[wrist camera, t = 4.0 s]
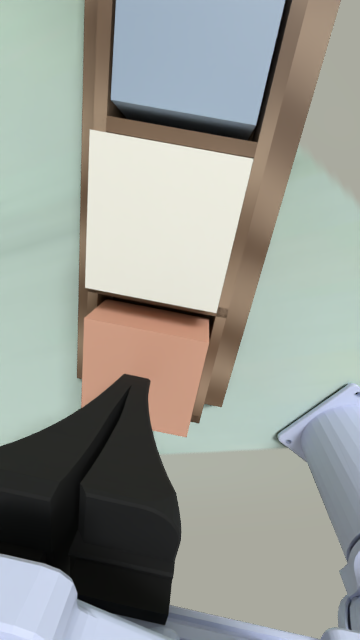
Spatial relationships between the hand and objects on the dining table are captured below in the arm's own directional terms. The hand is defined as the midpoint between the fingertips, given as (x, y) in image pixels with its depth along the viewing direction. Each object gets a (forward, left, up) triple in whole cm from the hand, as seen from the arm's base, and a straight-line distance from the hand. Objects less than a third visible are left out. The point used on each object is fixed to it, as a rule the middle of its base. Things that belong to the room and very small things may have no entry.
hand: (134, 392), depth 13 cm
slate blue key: (+8, -14, -7) cm, 17 cm away
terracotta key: (0, 0, -5) cm, 5 cm away
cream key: (+4, -7, -5) cm, 9 cm away
